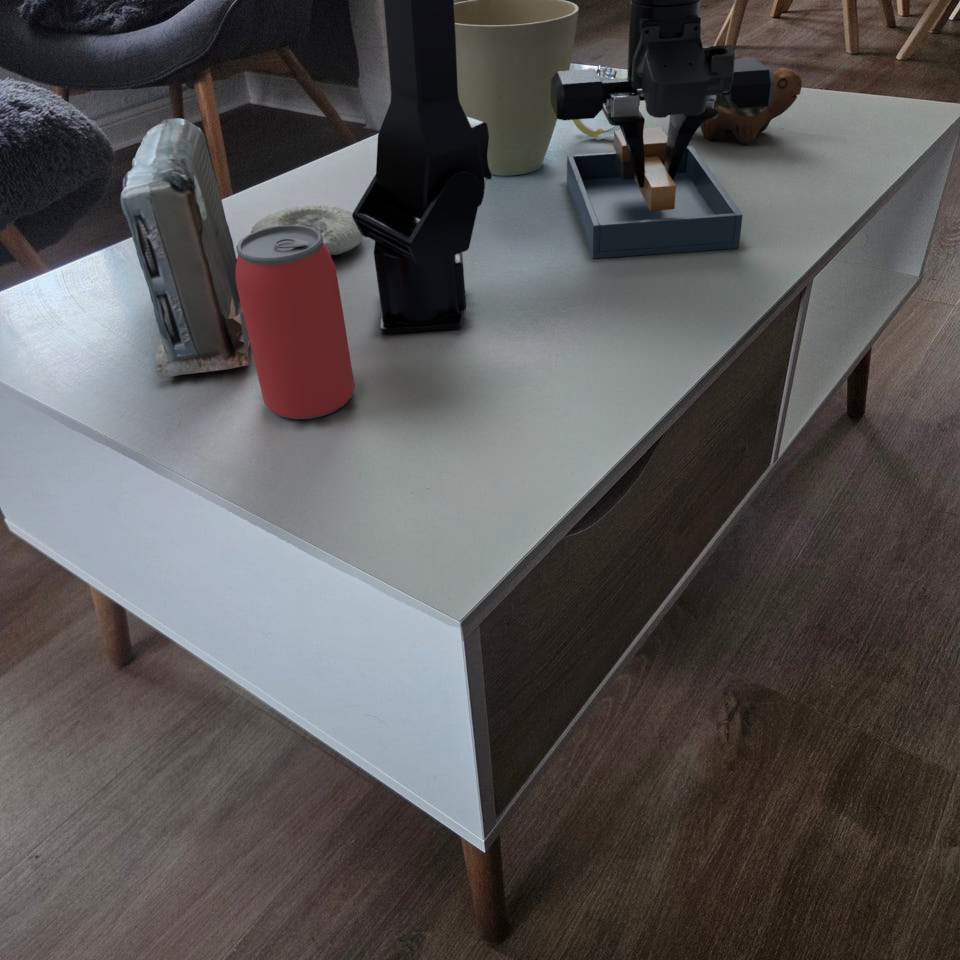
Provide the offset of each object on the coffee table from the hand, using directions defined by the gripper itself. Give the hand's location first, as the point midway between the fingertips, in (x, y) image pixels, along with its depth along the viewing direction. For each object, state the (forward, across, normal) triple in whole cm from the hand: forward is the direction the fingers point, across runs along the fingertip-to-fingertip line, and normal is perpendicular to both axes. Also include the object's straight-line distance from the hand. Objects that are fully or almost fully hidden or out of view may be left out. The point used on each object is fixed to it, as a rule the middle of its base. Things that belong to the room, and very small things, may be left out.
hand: (654, 185), depth 86 cm
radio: (+4, -41, -12) cm, 43 cm away
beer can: (+4, -30, -27) cm, 41 cm away
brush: (+1, 0, +2) cm, 3 cm away
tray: (+4, 0, +3) cm, 5 cm away
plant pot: (+4, -12, +20) cm, 23 cm away
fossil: (+4, -33, 0) cm, 33 cm away
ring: (+4, -1, +27) cm, 27 cm away
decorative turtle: (+4, +14, +25) cm, 29 cm away
